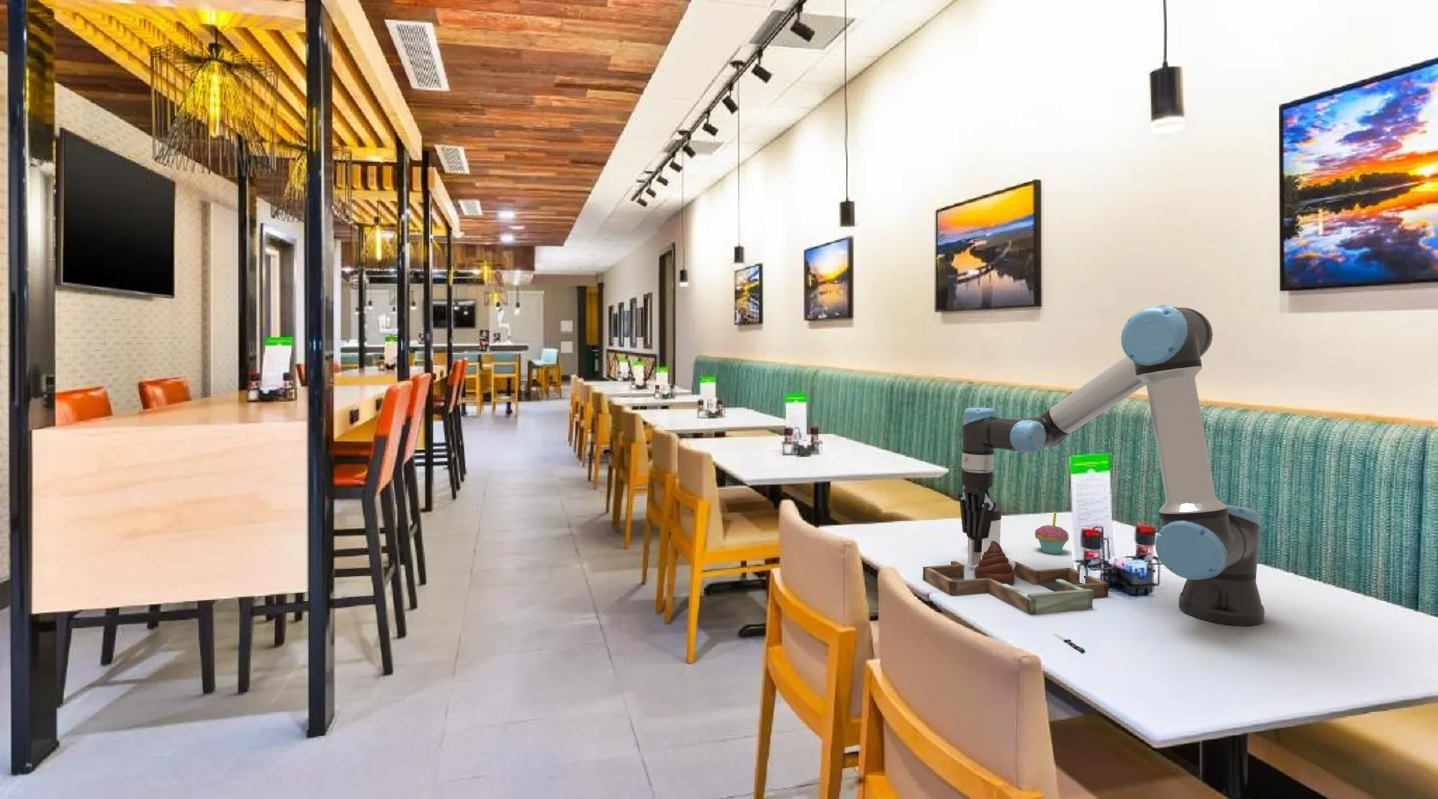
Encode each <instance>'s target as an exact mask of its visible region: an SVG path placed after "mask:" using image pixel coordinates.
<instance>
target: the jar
mask: <svg viewBox="0 0 1438 799" xmlns="http://www.w3.org/2000/svg"><path fill="white" fill-rule="evenodd" d="M1002 514H1003V513H1002V508H1000V507H999V506H998V507H997V506H996V507H995V509H994V511H993V516H992V521H991V526H990V531H989V536H988V538H985V539H983V540H982V552H981V557H982V556H983V553H984V552H986V551H987V550H988V548H989V546H990V544H991V541H996V542H997V543H998V544H999V545H1000V546H1001V530H1002V529H1001V527H1002V526H1001V525H1002Z"/></svg>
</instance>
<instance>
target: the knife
mask: <svg viewBox="0 0 1438 799" xmlns="http://www.w3.org/2000/svg"><path fill="white" fill-rule="evenodd" d="M1052 636H1055V637H1056V638H1058V639H1060V640H1061V641H1063V643H1066V644H1067V645H1069V646H1070V647H1071V648H1073V649H1074V650H1076V651H1078V652H1080V653H1082V654H1083V653H1085V652H1086V650H1085V648H1083V647H1080V646H1079V645H1076V644H1075V643H1074V642H1072V640H1071V638H1070V639H1066V638H1065V637H1063V636H1061V635H1059V634H1057V633H1052Z"/></svg>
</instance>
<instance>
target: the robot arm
mask: <svg viewBox="0 0 1438 799" xmlns="http://www.w3.org/2000/svg"><path fill="white" fill-rule="evenodd" d="M1213 335H1214V333H1213V328H1212V325H1211V323H1210V321H1209V320H1208V318H1207V317H1206V316H1205V315H1204V314H1203V313H1201V312H1199V310H1196V309H1193V308H1188V307H1177V306H1176V307H1175V306H1170V305H1163V304H1162V305H1155V306H1148V307H1145V308H1142V309H1140V310H1138V311H1137V312H1135V313H1134V314H1133V315H1131V316H1130V318H1128V319H1127V321H1126V323H1125V324H1124V326H1123V328H1122V331H1121V336H1120V342H1121V347H1122V350H1123V352H1124V354H1125V355H1126V356H1125V357H1123V358H1122V359H1120V360H1119V361H1117V362H1116V363H1114V364H1112V366H1110V367H1109V368H1107V369H1106V370H1104V371H1103V372H1101V373H1099V374H1098V375H1097V376H1095V377H1094V378H1092V379H1090V380H1089V381H1088V382H1086V383H1085V384H1084V385H1082V386H1081V387H1079V388H1077V389H1076V390H1075V391H1074V392H1071V394H1069V395H1068V396H1066V397H1064V398H1063V399H1062V400H1060V401H1058V402H1057V403H1056V404H1054V405H1053V406H1051V407H1050V408H1049V409H1047V410H1046V411H1044V412H1042V413H1041V414H1039V415H1038V416H1034V417H1023V418H1005V417H1004V418H1003V417H997V415H996V410H995V409H994V408H992V407H991V408H990V407H966V408H965V409H964V411H963V416H962V418H963V419H962V425H961V426H962V449H961V452H962V453H961V468H962V470H961V474H960V475H961V476H960V484H961V485H962V486H963V487H964V488H963V492H962V493H958V494H957V498H958V502H959V509H960V518H961V520H960V521H961V528H962V529H961V530H962V532H963V533H964V534H966V537H967V564H968V565H969V566H978V563H979V561H980V560H981V559H982V556H981V552H982V540H983V539H985V538H988V536H989V531H990V526H991V521H992V516H993V511H994V509H995V507H997V503H996V502H994V501H993V502H992V500H991V499H990V498H991V497H990V496H991V494H990V492H989V491H990V490H989V489H990V488H993V486H994V473H993V470H994V469H995V468H994V467H995V463H994V462H995V449H998V450H1004V451H1005V450H1006V451H1014V452H1019V453H1022V454H1024V453H1030V454H1035V453H1038V452H1039V451H1041V449H1043V448H1052V447H1055V446H1058V445H1060V444H1062V443H1063V442H1065V441H1066V439H1067V438H1068V436H1069V435H1070V434H1071V433H1073V432H1075V431H1076V430H1078V429H1079V428H1081V427H1082V426H1084V425H1086V424H1087V423H1088V422H1090V421H1092V420H1093V419H1095V418H1097V417H1098V416H1099V415H1101V414H1102V413H1104V412H1106V411H1107V410H1109V409H1111V408H1113V407H1114V406H1116V405H1117V404H1118V403H1120V402H1121V401H1124V400H1125V399H1127V398H1128V397H1130V396H1131V395H1132V394H1134V393H1136V392H1137V391H1139V390H1141V389H1142V388H1144V387H1146V390H1147V395H1148V403H1149V407H1150V415H1151V420H1152V427H1153V432H1154V437H1155V438H1154V439H1155V444H1156V449H1157V455H1158V462H1159V469H1160V474H1161V481H1162V487H1163V491H1164V492H1163V493H1164V498H1165V501H1164V502H1165V503H1164V504H1163V505H1161V507H1160V508H1159V510H1158V511H1159V513H1158V514H1159V521H1160V525H1161V526H1160V527H1161V528H1160V530H1159V531H1158V533H1157V534H1156V538H1155V542H1154V543H1155V545H1154V546H1155V552H1156V555H1157V557H1158V559H1159V562H1161V563H1162V565H1164V567H1165V568H1166V569H1167V570H1169V571H1170V572H1171V573H1173V574H1174V575H1176V576H1178V577H1180V578H1182V579H1186V580H1185V582H1184V586H1183V588H1182V591H1181V592H1180V593H1179V596H1178V608H1179V610H1181V611H1182V612H1184V613H1185V614H1188V615H1190V616H1192V617H1195V618H1197V619H1201V620H1205V621H1208V622H1212V623H1213V622H1214V623H1217V624H1223V625H1230V626H1231V625H1233V626H1256V625H1260V624H1263V623H1264V621H1265V608H1264V605H1263V604H1262V599H1261V596H1260V591H1259V588H1258V584H1257V571H1258V556H1259V540H1260V539H1259V537H1260V529H1261V523H1260V520H1261V519H1260V513H1259V512H1258V511H1257V510H1255V509H1253V508H1249V507H1243V506H1237V505H1233V504H1230V505H1229V504H1226V503H1225V504H1224V503H1223V502H1222V501H1220V500H1219V499H1218V498H1217V496H1216V491H1215V485H1214V481H1213V480H1214V479H1213V475H1212V468H1211V463H1210V457H1209V451H1208V445H1207V441H1206V440H1207V439H1206V435H1205V429H1204V424H1203V422H1204V421H1203V417H1202V412H1201V407H1200V406H1201V405H1200V399H1199V394H1198V389H1197V384H1196V383H1197V382H1196V377H1197V375H1198V374H1199V373H1200V371H1202V369H1203V366H1202V358H1201V357H1203V355H1205V353H1207V351H1208V350H1209V348H1210V347H1211V345H1212V342H1213Z"/></svg>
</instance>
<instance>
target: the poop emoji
mask: <svg viewBox="0 0 1438 799" xmlns="http://www.w3.org/2000/svg"><path fill="white" fill-rule="evenodd" d="M1015 561H1016V560H1015V559H1013V558H1009V559H1008V557H1007V556H1006V553H1004V552H1003V548H1002V546H1001V544H1000V545H999V544H998V543H997V542H996V541H991V544H990V546H989V548H988V550H987V551H986V552H984V553H983V556H981V560H980V561H979V563H978V565H976V567H975V568H974V571H973V573H974V576H975V579H979V578H991V579H993V580H995V581H998V582H1000V583H1002V584H1008V585H1010V586H1011V585H1012V584H1014V582H1015V577H1016V576H1015V575H1014V573H1013V571H1012V570H1013V569H1014V568H1015V566H1016V563H1015Z"/></svg>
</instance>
